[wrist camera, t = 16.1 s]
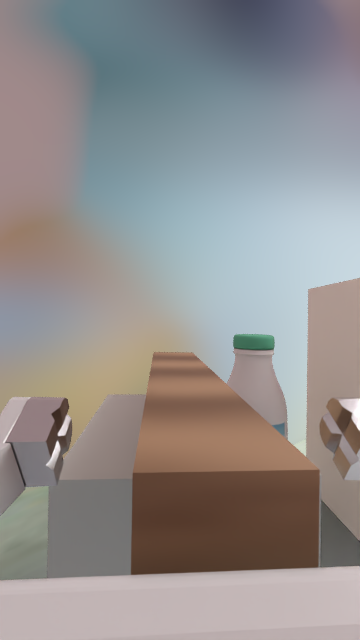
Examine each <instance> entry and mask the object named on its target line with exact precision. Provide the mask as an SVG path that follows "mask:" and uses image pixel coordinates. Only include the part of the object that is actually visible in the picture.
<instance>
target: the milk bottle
mask: <svg viewBox="0 0 360 640" xmlns="http://www.w3.org/2000/svg"><path fill="white" fill-rule="evenodd" d="M233 341H234V342H233V346H234V351H233V352H234V353H235V363H234V367H233V370H232V373H231V375H230V378H229V380H228V382H227V385H228V386H229V387H230V388H231V389H232V390H234V391H235V392H236V393H237V394H238V395H239V396H240V397H241V398H242V399H243V400H244V401H245V402H247V403H248V404H249V405H250V406H251V407H252V408H253V409H254V410H255V411H256V412H257V413H259V414H260V415H261V416H262V417H263V418H264V419H265V420H266V421H267V422H268V423H269V424H271V425H272V426H273V427H274V428H275V429H276V430H277V431H278V432H279V433H280V434H281V435H283V436H284V437H285V438H286V439H288V437H287V436H288V433H287V432H288V428H287V409H286V402H285V398H284V395H283V392H282V390H281V388H280V385H279V383H278V381H277V378H276V376H275V372H274V369H273V365H272V355H273V354H274V350H273V349H274V337H273V336H271V335H258V334H238V335H235V336H234V340H233Z"/></svg>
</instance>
